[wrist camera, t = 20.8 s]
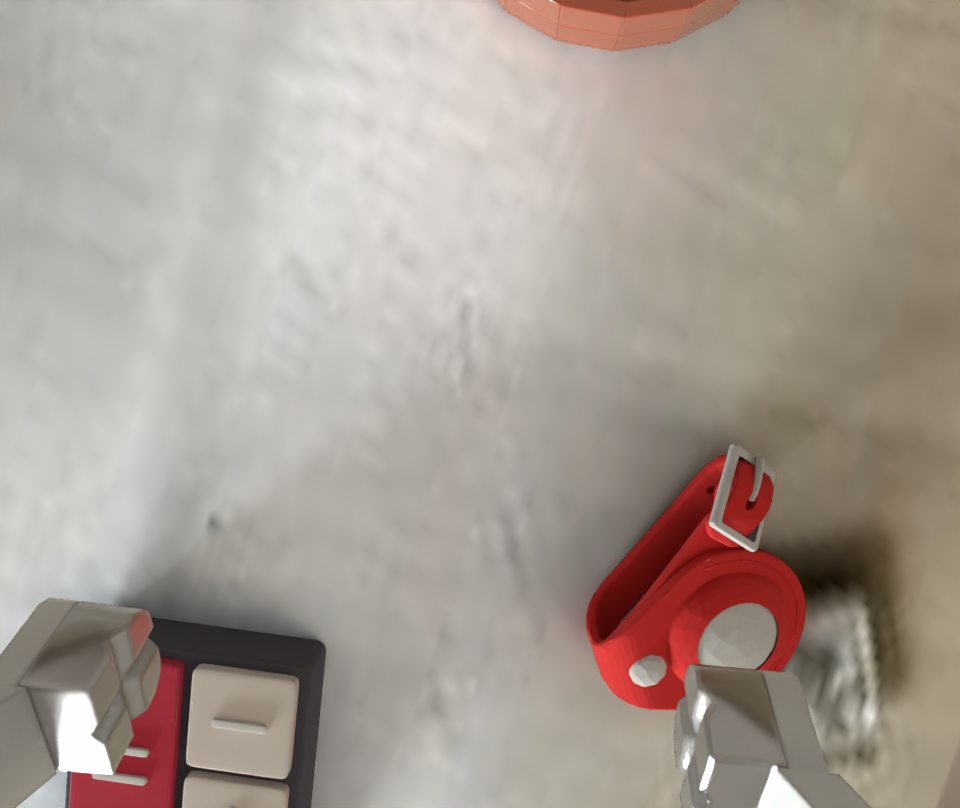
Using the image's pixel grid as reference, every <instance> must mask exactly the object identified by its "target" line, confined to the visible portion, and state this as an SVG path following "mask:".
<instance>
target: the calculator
mask: <svg viewBox="0 0 960 808" xmlns="http://www.w3.org/2000/svg"><path fill="white" fill-rule="evenodd" d="M151 619H152V622H153V626H154V627H153V629H152V630H151V632H150V634H149V636H148V638H149V639H150V640H151V641H152V642H153V643H154V644H155V645H157V646H158V648H159V653H160V658H161V672H160V677H159V681H158V685H157V689H156V693H155V695H154V697H153V699H152V701H151V703H150V705H149V707H148V709H147V710H146V711H145V712H143V713H142V714H140V715H139V716H137V717H136V718H135V719H133V720H132V721H130V722H131V726H132V730H133V733H134V736H133V738H132V740H131V742H130V744H129V746H128V748H127V750H126V752H125V754H124V755H123V757H122V759H121V761H120V763H119V765H118V767H117V769H116V771H115V773H114V775H109V774H96V773H84V772H72V771H67V784H66V802H65V808H311V798H312V788H313V778H314V767H315V757H316V747H317V737H318V727H319V716H320V706H321V696H322V686H323V676H324V666H325V655H326V649H325V646H324V644H323V643H321V642H320V641H315V640H309V639H302V638H294V637H287V636H279V635H272V634H265V633H257V632H250V631H243V630H235V629H228V628H220V627H213V626H206V625H198V624H191V623H184V622H176V621H169V620H161V619H154V618H151Z"/></svg>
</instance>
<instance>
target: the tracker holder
mask: <svg viewBox="0 0 960 808" xmlns="http://www.w3.org/2000/svg"><path fill="white" fill-rule="evenodd" d="M775 477H776V471H775V470H773V469H772V468H771V467H769V466H768V465H766V464H765V463H764V458H763V457H762V456H758V457H755V456H754V455H752V454H751V453H750V452H748V451H747V450H745V449H744V448H743V447H741V446H740V445H738V444H732V445H730V447H729V451H728V454H727V455H721V456H718V457H717V458H715V459H714V460H713V461H711V462H710V463H708V464H707V465H706V466H705V467H704V468H703V469H702V470H701V471H700V472H699V473H698V474H697V475H696V476H695V478H694V479H693V480H692V481H691V482H690V483H689V484H688V486H687V487H686V488H685V489H684V490H683V491H682V493H681V494H680V495H679V496H678V497H677V499H676V500H675V501H674V502H673V504H672V505H671V506H670V507H669V508H668V509H667V511H666V512H665V513H664V514H663V515H662V516H661V517H660V518H659V520H658V521H657V522H656V523H655V524H654V525H653V526H652V527H651V529H650V530H649V531H648V532H647V533H646V534H645V535H644V536H643V538H642V539H641V540H640V541H639V542H638V543H637V544H636V545H635V547H634V548H633V549H632V550H631V551H630V552H629V553H628V554H627V556H626V557H625V558H624V559H623V560H622V561H621V562H620V563H619V564H618V566H617V567H616V568H615V569H614V570H613V571H612V572H611V573H610V575H609V576H608V577H607V578H606V579H605V580H604V581H603V582H602V583H601V585H600V586H599V588H598V589H597V590H596V592H595V593H594V595H593V597H592V599H591V601H590V604H589V606H588V611H587V615H586V627H587V633H588V636H589V639H590V643H591V646H592V649H593V652H594V655H595V658H596V661H597V664H598V667H599V670H600V673H601V675H602V678H603V679H604V681H605V682H606V684H607V685H608V687H609V688H610V689H611V690H612V692H613V693H614V694H615V695H616V696H617V697H619V698H620V699H622V700H624V701H625V702H627V703H629V704H632V705H634V706H637V707H640V708H645V709H652V710H677V705H678V701H679V700H681V699H682V698H683V697H685V696H686V692H685V685H684V678H685V675H686V671H687V668H688V667H689V665H690V664H703V665H714V666H725V667H736V668H748V669H757V670H758V671H759V670H765V671H775V672H780V671H781V670H782V669H783V668H784V667H785V665H786V664H787V662H788V661H789V660H790V658H791V657H792V655H793V653H794V651H795V649H796V647H797V645H798V643H799V640H800V638H801V635H802V631H803V627H804V622H805V612H806V608H805V597H804V593H803V589H802V587H801V584H800V582H799V580H798V578H797V576H796V575H795V573H794V572H793V571H792V569H791V568H790V567H789V566H788V565H787V564H785V563H784V562H783V561H782V560H780V559H779V558H777V557H776V556H774V555H773V554H771V553H769V552H766V551H764V550H761V549H759V548H758V546H759V542H760V538H761V534H762V530H763V525H764V521H765V517H766V514H767V512H768V510H769V509H770V505H771V502H772V496H773V489H774V481H775ZM649 588H650V589H649ZM646 592H647V593H646ZM645 593H646V594H645ZM644 594H645V595H644ZM643 595H644V597H643ZM642 597H643V598H642ZM641 598H642V599H641ZM640 599H641V600H640ZM639 600H640V602H639V603H638V604H637V606H636V607H635V608H634V610H633V611H632V612H631V613H630V614H629V615H628V616H627V617H626V618H625V620H624V621H623V622H622V623H621V624H620V622H621V621H622V620H623V618H624V617H625V616H626V615H627V614H628V613H629V612H630V610H631V609H632V608H633V607H634V606H635V605H636V603H637V602H638V601H639ZM619 624H620V625H619ZM618 625H619V626H618Z"/></svg>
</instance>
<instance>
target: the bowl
mask: <svg viewBox="0 0 960 808" xmlns="http://www.w3.org/2000/svg"><path fill="white" fill-rule="evenodd" d="M496 1H497V2H498V3H499V4H500V5H501V6H502V7H503V9H504V10H506V11H507V12H508V13H509V14H511V15H513V16H514V17H516V18H518V19H520V20H521V21H523V22H525V23H527V24H528V25H530V26H532V27H534V28H535V29H537V30H539V31H541V32H542V33H544V34H546V35H548V36H549V37H551V38H553V39H555V40H557V41H561V42H566V43H572V44H577V45H582V46H587V47H593V48H598V49H603V50H609V51H618V50H625V49H632V48H639V47H646V46H653V45H660V44H667V43H670V42H673V41H675V40H677V39H679V38H681V37H683V36H685V35H687V34H689V33H691V32H693V31H695V30H697V29H699V28H701V27H704V26H706V25H708V24H710V23H712V22H714V21H716V20H718V19H720V18H722V17H723V16H724V15H725V14H728V13H729V12H730V11H731V10H732V9H733V8H734V7H735V6H736V5H737V4H738V3H739V2H740V1H741V0H496Z"/></svg>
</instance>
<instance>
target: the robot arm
mask: <svg viewBox="0 0 960 808" xmlns="http://www.w3.org/2000/svg"><path fill="white" fill-rule="evenodd" d="M153 627H154V626H153V622H152V619H151V615H150V612H149V611H148V610H144V609H138V608H130V607H123V606H115V605H107V604H99V603H91V602H84V601H72V600H64V599H56V598H48V599H46V600H45V601H43V602H42V603H40V604H39V605H38V606H37V607H36V608H35V610H34V611H33V612H32V614H31V615H30V616H29V618H28V619H27V620H26V622H25V623H24V624H23V626H22V627H21V628H20V630H19V631H18V632H17V634H16V635H15V636H14V638H13V639H12V640H11V642H10V643H9V644H8V646H7V647H6V648H5V650H4V651H3V652H2V654H1V655H0V808H16V807H17V806H18V805H19V804H21V803H22V802H23V801H24V800H25V799H27V798H28V797H29V796H30V795H31V794H33V793H34V792H35V791H36V790H37V789H39V788H40V787H41V786H42V785H43V784H45V783H46V782H47V781H48V780H49V779H51V778H52V777H53V776H54V775H55V774H56V770H60V771H72V772H84V773H96V774H109V775H114V773H115V771H116V769H117V767H118V765H119V763H120V761H121V759H122V757H123V755H124V754H125V752H126V750H127V748H128V746H129V744H130V742H131V740H132V738H133V736H134V733H133V730H132V726H131V722H130V721H132V720H133V719H135V718H136V717H137V716H139V715H140V714H142V713H143V712H145V711H146V710H147V709H148V707H149V705H150V703H151V701H152V699H153V697H154V695H155V693H156V689H157V685H158V681H159V677H160V672H161V658H160V653H159V648H158V646H157V645H155V644H154V643H153V642H152V641H151V640H150V639H149V638H148V636H149V634H150V632H151V630H152V629H153ZM684 685H685V692H686V696H685V697H683V698H682V699H681V700H679V701H678V705H677V710H676V714H675V723H674V753H675V762H676V767H677V768H678V769H679V771H680V772H681V773H682V774H683V775H684V781H683V784H682V788H681V792H680V801H681V808H872V807H871V806H870V805H869V804H868V803H867V802H866V801H865V800H864V799H863V798H862V797H861V796H860V795H859V794H858V793H857V792H856V791H855V790H854V789H853V788H852V787H851V786H850V785H849V784H848V783H847V782H846V781H845V780H844V779H843V778H842V777H841V776H840V775H839V774H834V773H828V770H827V767H826V764H825V761H824V757H823V754H822V751H821V748H820V744H819V741H818V738H817V735H816V731H815V728H814V725H813V722H812V718H811V715H810V712H809V709H808V706H807V702H806V699H805V696H804V693H803V689H802V686H801V683H800V680H799V678H798V677H797V676H796V675H795V673H786V672H775V671H765V670H759V671H758V670H757V669H748V668H736V667H725V666H714V665H703V664H690V665H689V667H688V668H687V671H686V675H685V678H684Z"/></svg>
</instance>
